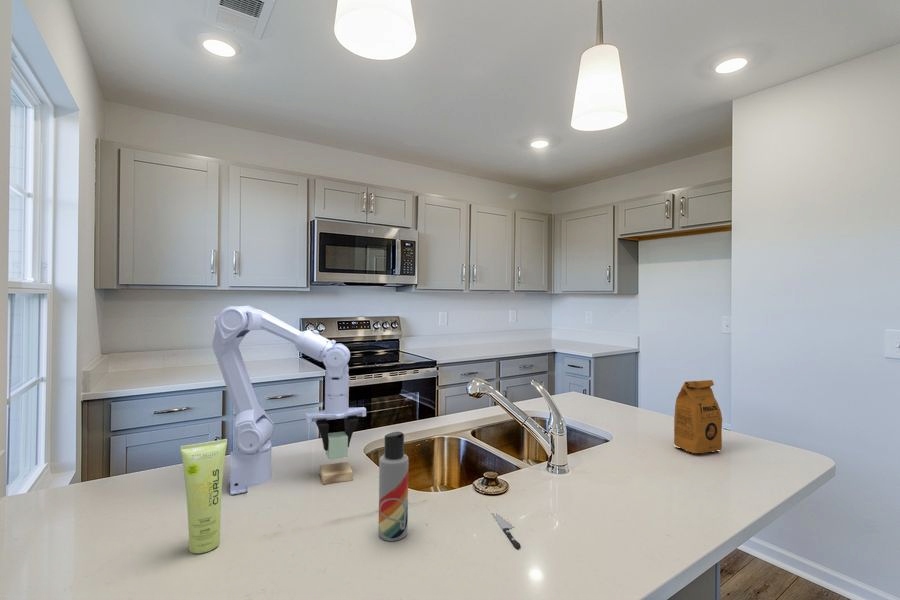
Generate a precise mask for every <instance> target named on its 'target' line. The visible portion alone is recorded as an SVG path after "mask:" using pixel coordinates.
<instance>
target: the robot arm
mask: <svg viewBox="0 0 900 600" xmlns="http://www.w3.org/2000/svg"><path fill="white" fill-rule="evenodd" d="M214 324H215V328H214V329H215V331H214V333H213V334H214V335H213V338H212V344H211V345H212V346H211V347H212V350H213V352H214V356H215V358H216V361H217V364H218V366H219V369H220V371H221V374H222V378H223V381H224V383H225V386H226V389H227V392H228V394H229V397H230V400H231V403H232V406H233V409H234V411H235V414H236V415H235V416H236V417H235V422H234V430H235V432H236V433H235V434H236V436H235V444H236V447H237V448H238V449H237V450H233V451H230V452H229V453H230V454H229V455H230V462H229V464H230V466H229V467H230V468H229V470H230V471H229V475H228V484H229V487H230V488H229V492H230V493H229V494H230V496H234V495H238V494H239V495H240V494H244V493H248V487H254V486H259V485H262V484H266V483H267V482H269V481H270V480H271V479H272V446H273V444H272V442H271V437H272V436H273V434H274V432H275V424H274V422H273V420H272V419H270V417H269V416H268V415H267V413H266V411H265V409H264V408H263V407H262V406H260V405H259V401H258V399H257V396H256V393H255V390H254V387H253V384H252V382H251V378H250V376H249V375H250V374H249V373H248V370H247V367H246V364H245V361H244V359H243V356H242V352H241V349H240V347H239V346H240V345H241V343H242V341H243V339H244V338H245V336H246V335H247V334H248V333H250V332H251V331H261V330H262V331H263V330H264V331H266V332H268V333H271V334H273V335H275V336H276V337H279V338H281V339H284V340H286V341H289V342H290V343H293V344H294V345H295V348H296V351H298V352H300V353H302V354H304V355H305V356H308V357H309V358H312V359H313V360H315V361H318V362H320V363H321V362H322V363H323V365H324V366H325V375H324V381H325V382H324V409H323V410H317V411H313V412H312V411H311V412H306V413H305V422H306V424H311V423H314V422H315V424H316V426H317V429H318V432H319V433H320V437H321V440H322V444H323V445H322V446H323V450H324V451H325V452H326V451H327V450H328V433H329V430H330V429H329V427H330V425H329V424H328V421H331V420H332V421H333V420H337V419H338V420H339V419H343V422H344V423H343V424H344V425H343V426H344V432H345V433H346V435H347V436H348V448H350V443H351V439H352V436H353V434H354V431H355V430H356V427H357V425H358V424H359V418H358V417H363V418H364V417H366V416H367V408H366V407H364V406H362V407H349V401H350V400H349V396H350V394H349V391H350V387H349V386H350V374H349V371H350V369H349V364H348V363H349V361H350V360H351V359H350V358H351V352H350V350H349V348H348V347H347V346H346V345H344V344H343V343H336V342H337V341H336V340H335V339H332V340H330V339H328V338H326V337H324V336H322V335H320V334H319V333H320V331H318V330H315V329H314V330H310V329H307V330H303V331H301V330H299V329H297V328H296V327H294V326H292V325H290V324H288V323H286V322H285V321H283V320H281V319H279V318H277V317H276V316H273V315H272V314H270V313H268V312H266V311H264V310H262V309H258V308H255V307H253V306H251V305H248V304H246V305H244V304H243V305H240V306H235V305H231V306H230V305H229V306H227V307H225V308H223V309H222V310H221V312H220V313H219V314H218V316H217V317H216V319H214Z"/></svg>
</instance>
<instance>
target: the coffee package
mask: <svg viewBox="0 0 900 600" xmlns="http://www.w3.org/2000/svg"><path fill="white" fill-rule="evenodd" d="M714 385H715V383H714V381H713V380H712V379H709V380H706V379H705V380H691V381H684V383H683V384H682V386H681V388H680V391H679V392H678V394H677V396H676V399H675V407H674V416H673V417H674V419H673V423H674V424H673V425H674V426H673V427H674V428H673V431H674V432H673V433H674V437H673V438H674V439H673V445H674V444H675V445H676V446H678V447H680V448H682V449H684V450H683V451H685V450H687V451H689V452H692V453H691V454H693V453H701V454H705V453H704V452H712V451H717V450H720V451H722V448H723V440H722V439H723V438H722V437H723V436H722V435H723V434H722V429H723V417H722V411H721V408H720V405H719V403H718V401H717V399H716V397H715V395H714V392H713V389H712V388H711V387H713V386H714ZM687 451H686V452H687ZM689 452H688V453H689Z"/></svg>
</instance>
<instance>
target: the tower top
mask: <svg viewBox="0 0 900 600" xmlns="http://www.w3.org/2000/svg"><path fill="white" fill-rule="evenodd" d="M353 473H354V472H353V470H352V468H351V466H350V464H349V462H348V461H344V462H343V461H342V462H336V463H328V464H322V465H321V464H320V465H319V474H320V476H321V478H320V479H322V480H321V482H322V485H324V484H329V483H334V484H337V483H336V482H340V483H343V481H345V482H350V480H351V481H354V477H353V476H354V474H353ZM320 476H319V477H320ZM329 485H330V484H329Z"/></svg>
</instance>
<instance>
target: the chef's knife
mask: <svg viewBox="0 0 900 600" xmlns="http://www.w3.org/2000/svg"><path fill="white" fill-rule="evenodd" d="M491 515H493V516H494V517H493V516H492V517H493V518H494V520H495V519H496V520H495V522H496V523H497V522H498V523H497V524H498V526H499V527H500V528H501V530H502V532H503V533H504V534H505V536H506V535H507V536H506V538H508V540H509V541H510V543H511V544H512V546H513V547H514V548H515V549H516V550H519V549H520V548H521V544H520V543H519V542H518V541H517V540H516V539H515V538H514V536H513V535H512V533H511V530H513V529H512V528H514V529H515V528H516V527H515V525H513V524H512V523H511V522H510V521H509V522H510V523H511V524H510V523H509V522H507V521H506V520H505V519H503V517H501V516H500V515H498V514H497V513H496V516H495V514H494V513H492V514H491ZM512 525H513V526H512ZM509 529H510V530H509Z"/></svg>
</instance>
